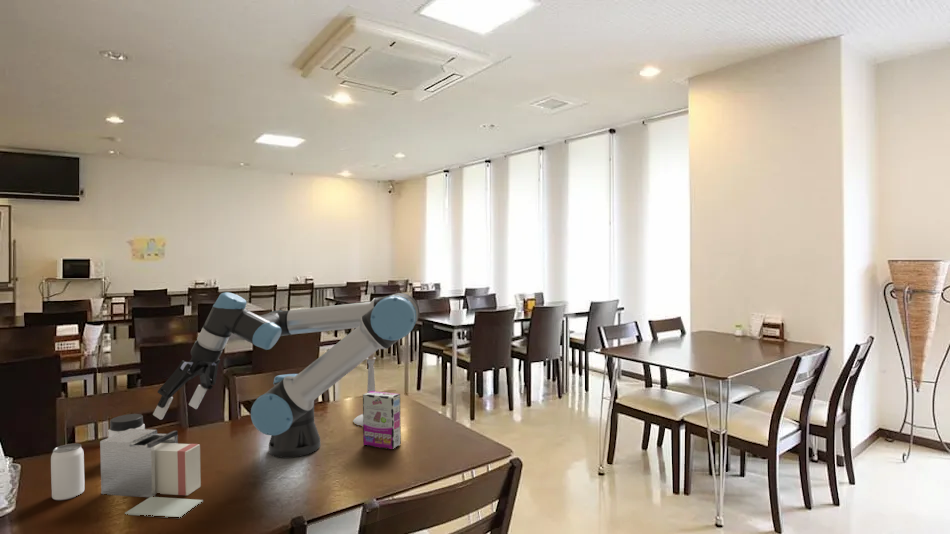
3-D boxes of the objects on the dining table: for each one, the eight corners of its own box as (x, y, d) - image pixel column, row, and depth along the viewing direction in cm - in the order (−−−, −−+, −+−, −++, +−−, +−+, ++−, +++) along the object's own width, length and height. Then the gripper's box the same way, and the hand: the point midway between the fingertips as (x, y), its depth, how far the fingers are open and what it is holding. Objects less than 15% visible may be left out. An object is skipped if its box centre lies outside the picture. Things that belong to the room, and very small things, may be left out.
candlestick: (384, 427, 178) (384, 341, 178) (348, 427, 179) (347, 341, 178) (393, 416, 191) (392, 335, 190) (359, 415, 192) (358, 335, 191)
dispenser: (101, 494, 130) (100, 441, 129) (131, 478, 139) (129, 428, 139) (151, 497, 128) (150, 443, 127) (178, 480, 137) (177, 430, 137)
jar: (108, 466, 147) (107, 424, 146) (109, 456, 154) (108, 417, 153) (145, 459, 152) (144, 418, 151) (145, 450, 158) (144, 411, 158)
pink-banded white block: (200, 486, 134) (200, 444, 134) (187, 495, 129) (186, 451, 129) (151, 483, 136) (151, 441, 135) (136, 492, 131) (135, 449, 130)
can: (63, 489, 132) (62, 443, 132) (90, 488, 133) (89, 442, 133) (45, 501, 126) (43, 453, 126) (73, 500, 126) (72, 452, 126)
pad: (203, 501, 126) (203, 499, 126) (180, 518, 118) (180, 516, 118) (150, 498, 127) (150, 496, 127) (124, 514, 120) (124, 512, 120)
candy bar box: (401, 445, 162) (401, 393, 162) (393, 450, 158) (392, 397, 157) (371, 440, 166) (371, 390, 166) (362, 445, 162) (362, 393, 161)
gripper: (227, 335, 158) (196, 396, 158) (166, 341, 133) (129, 414, 134) (246, 347, 157) (215, 409, 157) (188, 355, 132) (151, 429, 132)
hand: (176, 411), depth 145 cm, fingers open, 13 cm apart
